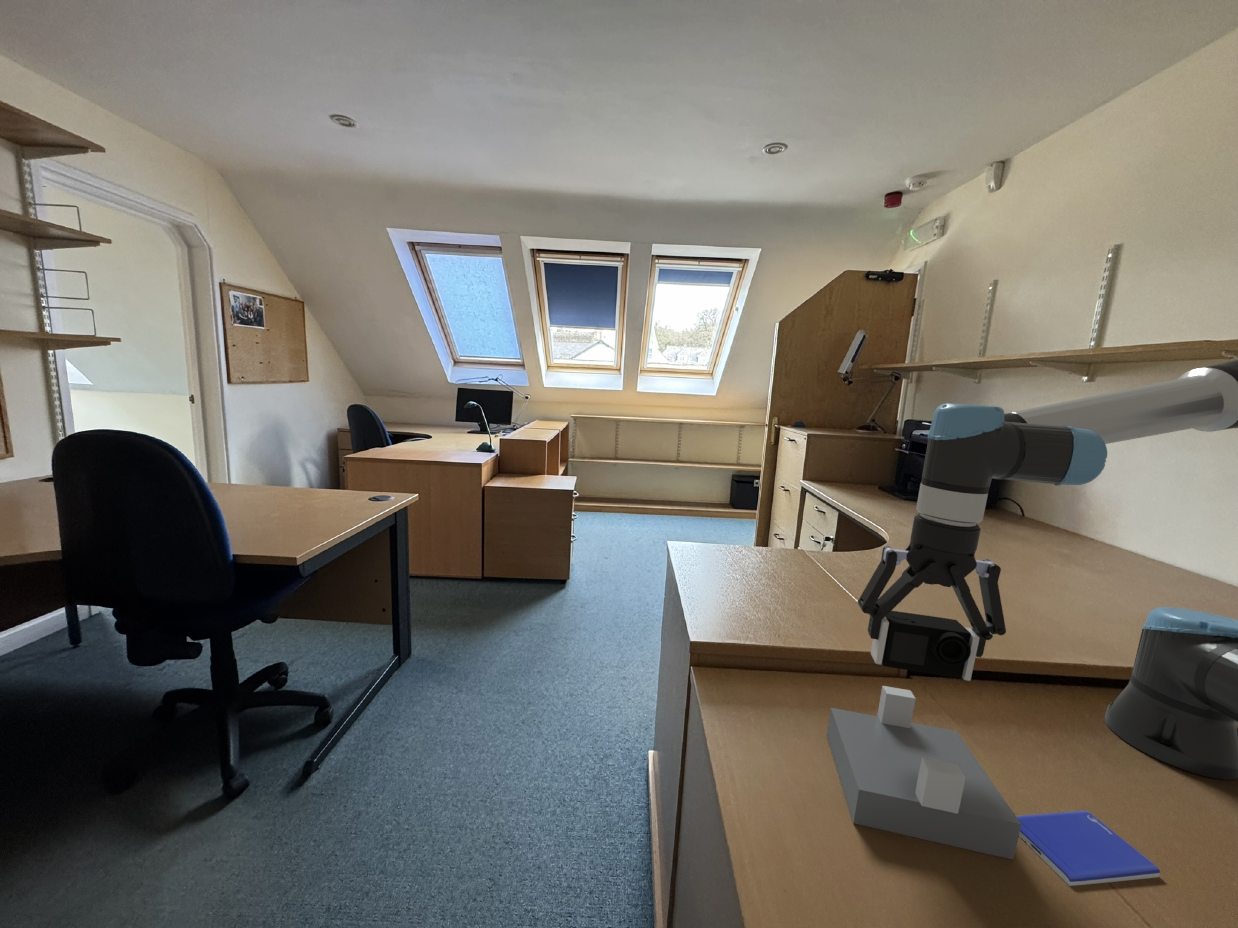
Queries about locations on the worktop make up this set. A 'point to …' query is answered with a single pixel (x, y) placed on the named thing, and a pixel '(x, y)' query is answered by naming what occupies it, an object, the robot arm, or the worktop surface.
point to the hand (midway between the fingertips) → (918, 666)
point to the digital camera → (926, 644)
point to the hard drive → (1083, 849)
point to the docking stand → (918, 779)
